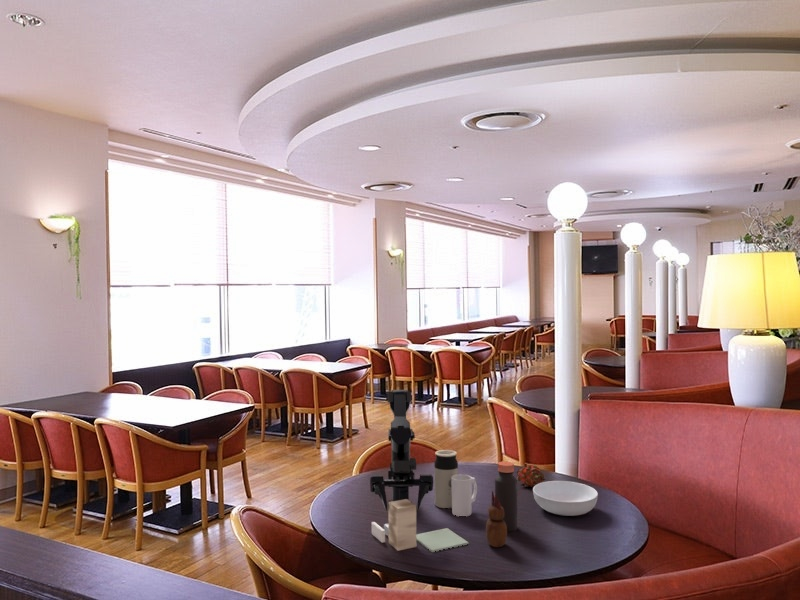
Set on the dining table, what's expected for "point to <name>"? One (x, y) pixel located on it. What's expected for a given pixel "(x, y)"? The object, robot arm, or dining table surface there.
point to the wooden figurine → (496, 524)
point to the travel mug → (444, 477)
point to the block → (402, 524)
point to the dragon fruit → (530, 476)
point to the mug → (462, 494)
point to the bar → (386, 529)
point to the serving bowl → (565, 497)
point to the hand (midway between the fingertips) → (402, 510)
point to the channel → (378, 532)
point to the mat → (440, 539)
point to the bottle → (507, 493)
